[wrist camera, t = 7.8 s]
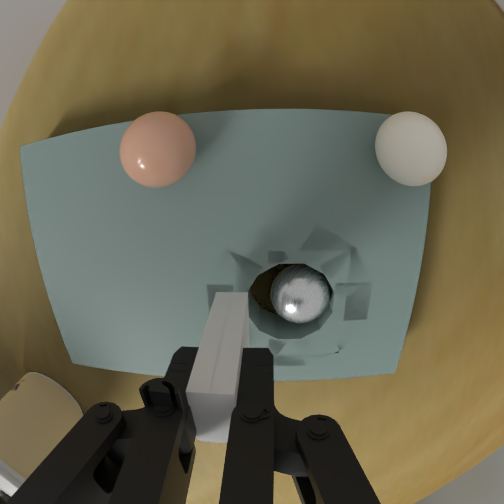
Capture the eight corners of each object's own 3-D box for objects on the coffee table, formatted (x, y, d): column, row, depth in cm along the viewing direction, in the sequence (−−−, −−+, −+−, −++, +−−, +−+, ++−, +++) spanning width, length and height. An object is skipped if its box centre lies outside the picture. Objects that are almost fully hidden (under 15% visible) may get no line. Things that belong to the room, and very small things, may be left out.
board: (86, 344, 21) (72, 363, 19) (44, 142, 16) (19, 146, 14) (384, 349, 20) (395, 373, 18) (412, 121, 15) (433, 120, 12)
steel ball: (258, 318, 18) (301, 342, 15) (257, 265, 17) (304, 284, 14) (296, 299, 20) (338, 318, 17) (298, 251, 18) (344, 265, 16)
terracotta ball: (140, 184, 14) (109, 197, 11) (135, 118, 13) (103, 116, 10) (205, 179, 14) (188, 191, 11) (201, 110, 13) (183, 103, 10)
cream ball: (364, 178, 14) (389, 191, 11) (365, 110, 12) (391, 104, 9) (424, 181, 13) (458, 195, 10) (426, 117, 12) (461, 116, 9)
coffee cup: (18, 348, 23) (-51, 430, 11) (97, 402, 24) (46, 504, 13) (18, 396, 26) (-30, 465, 14) (85, 439, 27) (47, 520, 16)
